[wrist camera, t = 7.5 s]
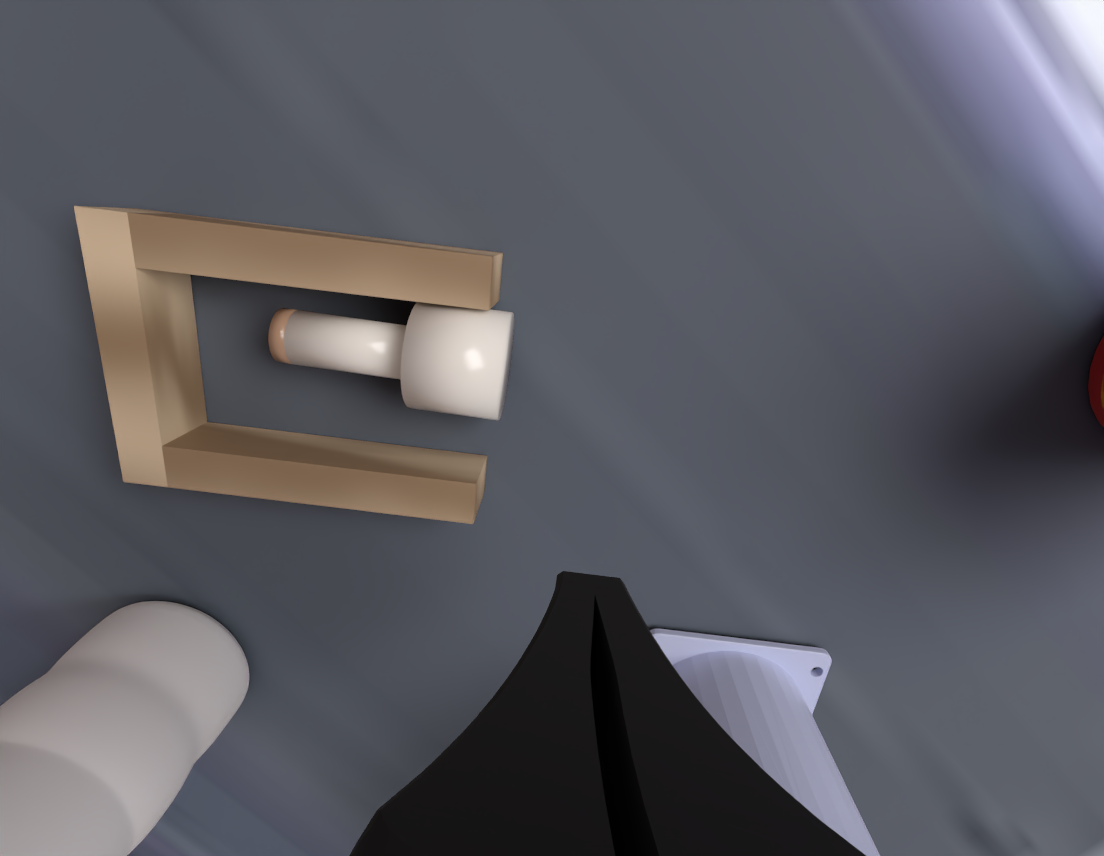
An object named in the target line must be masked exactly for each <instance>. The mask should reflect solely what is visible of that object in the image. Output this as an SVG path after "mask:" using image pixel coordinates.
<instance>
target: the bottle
mask: <svg viewBox="0 0 1104 856" xmlns="http://www.w3.org/2000/svg"><path fill="white" fill-rule="evenodd" d="M513 337H514V314H513V313H512V312H505V311H498V310H491V309H490V310H481V309H472V308H464V307H456V306H448V305H439V304H431V303H423V302H416V304H415V305H414V307H413V309H412V311H411V313H410V316H409V319H408V323H407V325H400V324H393V323H386V322H379V321H372V320H365V319H358V318H351V317H344V316H337V315H330V314H323V313H315V312H308V311H301V310H294V309H287V308H281V309H279V310H278V311H277V312H276V313H275V314H274V316H273V318H272V320H271V323H270V327H269V334H268V342H269V349H270V352H271V355H272V357H273V358H274V359H275V360H276V361H277V362H281V363H288V364H295V365H302V366H309V367H316V368H323V369H330V370H337V371H344V372H352V373H359V374H366V375H373V376H380V377H387V378H394V379H401V391H402V397H403V400H404V403H405V405H406V406H407V407H408V408H414V409H421V410H428V411H435V412H442V413H449V414H456V415H464V416H471V417H478V418H485V419H492V420H499V419H500V417H501V414H502V411H503V407H504V402H505V398H506V392H507V386H508V380H509V373H510V366H511V358H512V349H513Z"/></svg>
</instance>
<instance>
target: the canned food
mask: <svg viewBox="0 0 1104 856" xmlns="http://www.w3.org/2000/svg"><path fill="white" fill-rule="evenodd" d="M1088 391H1089V398H1090V404H1091V407H1092V409H1093V412H1094V414H1095V416H1096V418H1097V420H1098V421H1099V423H1100V424H1101V425H1102V426H1103V427H1104V336H1103V338H1102V339H1101V341H1100V343H1099V345H1098V347H1097V349H1096V351H1095V355H1094V358H1093V361H1092V364H1091V367H1090V373H1089V383H1088Z"/></svg>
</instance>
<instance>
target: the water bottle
mask: <svg viewBox="0 0 1104 856" xmlns="http://www.w3.org/2000/svg"><path fill="white" fill-rule="evenodd" d="M248 685H249V667H248V663H247V659H246V657H245V654H244V652H243V650H242V648H241V646H240V645H239V643H238V642H237V640H236V639H235V637H234V636H233V635H232V634H231V633H230V632H229V631H228V630H227V629H226V628H225V627H224V626H223V625H222V624H221V623H219V622H218V621H217V620H215V619H214V618H212V617H211V616H209V615H207V614H205V613H203V612H201V611H199V610H197V609H195V608H192V607H189V606H186V605H182V604H178V603H173V602H166V601H146V602H139V603H134V604H131V605H128V606H125V607H123V608H120V609H118V610H117V611H115V612H113V613H112V614H110V615H109V616H107V617H106V618H105V619H103V620H102V621H101V622H100V623H98V624H97V625H96V626H95V627H94V628H92V629H91V630H90V631H89V632H88V633H87V634H85V635H84V636H83V637H82V638H81V639H80V640H79V641H78V642H77V643H75V644H74V645H73V646H72V647H71V648H70V649H69V650H68V651H67V652H66V653H65V654H64V655H63V656H62V657H61V658H60V659H59V660H58V661H57V663H56V664H55V665H54V666H53V667H52V668H51V669H50V670H49V671H48V672H47V673H46V674H45V675H43V676H42V677H40V678H38V679H37V680H35V681H34V682H32V683H31V684H29V685H28V686H26V687H25V688H23V689H22V690H20V691H19V692H18V693H16V694H15V695H14V696H12V697H11V698H10V699H9V700H7V701H6V702H5V703H4V704H2V705H1V706H0V856H127V855H128V854H129V853H130V852H131V851H132V850H133V849H134V848H135V847H136V846H137V845H138V844H139V843H140V842H141V841H142V840H143V839H144V838H145V837H146V836H147V834H148V833H149V832H150V831H151V830H152V829H153V827H154V826H155V825H156V823H157V822H158V821H159V820H160V818H161V817H162V816H163V814H164V813H165V811H166V810H167V809H168V807H169V806H170V804H171V803H172V801H173V800H174V798H175V797H176V795H177V794H178V792H179V790H180V789H181V787H182V785H183V784H184V782H185V780H186V778H187V776H188V774H189V772H190V770H191V768H192V767H193V765H194V763H195V762H196V761H197V760H198V759H199V758H200V757H201V756H202V754H203V753H204V752H205V751H206V750H207V749H208V748H209V747H210V746H211V744H212V743H213V742H214V741H215V739H216V738H217V737H218V736H219V734H220V733H221V732H222V730H223V729H224V728H225V726H226V725H227V724H228V722H229V721H230V720H231V718H232V717H233V715H234V714H235V713H236V711H237V710H238V708H239V707H240V705H241V703H242V702H243V700H244V698H245V695H246V693H247V690H248Z"/></svg>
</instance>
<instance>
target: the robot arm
mask: <svg viewBox="0 0 1104 856" xmlns="http://www.w3.org/2000/svg"><path fill="white" fill-rule="evenodd" d="M831 661H832V660H831V657H830V655H829V654H828V652H827V651H826V650H825V649H822V648H817V647H809V646H801V645H792V644H784V643H776V642H767V641H759V640H751V639H742V638H734V637H726V636H717V635H709V634H701V633H692V632H684V631H676V630H667V629H659V628H658V629H652V630H649V628H648V627H647V625H646V623H645V622H644V620H643V618H642V616H641V615H640V613H639V611H638V609H637V608H636V606H635V604H634V602H633V600H632V598H631V597H630V595H629V593H628V591H627V589H626V587H625V585H624V583H623V582H622V580H621V579H620V578H615V577H606V576H598V575H590V574H582V573H574V572H566V571H563V572H561V573H560V574H558V575H557V580H556V587H555V591H554V594H553V597H552V599H551V602H550V604H549V607H548V609H547V611H546V613H545V615H544V617H543V620H542V622H541V624H540V626H539V628H538V630H537V632H536V633H535V635H534V637H533V639H532V640H531V642H530V644H529V645H528V647H527V649H526V650H525V652H524V654H523V655H522V657H521V659H520V660H519V662H518V663H517V665H516V666H515V668H514V669H513V671H512V672H511V674H510V675H509V677H508V678H507V679H506V681H505V682H504V683H503V685H502V686H501V687H500V689H499V690H498V691H497V693H496V694H495V695H494V697H493V698H492V699H491V700H490V701H489V703H488V704H487V705H486V706H485V707H484V709H483V710H482V711H481V712H480V713H479V715H478V716H477V717H476V718H475V719H474V720H473V722H472V723H471V724H470V725H469V726H468V727H467V728H466V729H465V730H464V732H463V733H462V734H461V735H460V736H459V737H458V738H457V739H456V740H455V741H454V742H453V743H452V744H451V745H450V746H449V747H448V748H447V749H446V750H445V751H444V752H443V753H442V754H441V755H440V756H439V757H438V758H437V759H436V760H435V761H434V762H433V763H432V764H431V765H429V766H428V767H427V768H426V769H425V770H424V771H423V772H422V773H421V774H420V775H418V776H417V777H416V778H415V779H414V780H412V781H411V782H410V783H409V784H408V785H406V786H405V787H404V788H403V789H402V790H401V791H399V792H398V793H397V794H396V795H395V796H393V797H392V798H391V799H390V800H389V801H387V802H386V803H385V804H384V805H383V806H381V807H380V808H379V809H378V810H377V811H376V813H375V814H374V816H373V818H372V819H371V821H370V822H369V824H368V825H367V827H366V829H365V830H364V832H363V833H362V835H361V837H360V838H359V840H358V842H357V843H356V845H355V847H354V849H353V850H352V852H351V854H350V856H880V855H879V853H878V851H877V849H876V847H875V845H874V843H873V840H872V838H871V836H870V834H869V832H868V830H867V828H866V826H865V824H864V822H863V820H862V818H861V816H860V814H859V811H858V809H857V807H856V805H855V803H854V801H853V799H852V797H851V795H850V793H849V791H848V789H847V787H846V785H845V783H844V780H843V778H842V776H841V774H840V772H839V770H838V768H837V766H836V764H835V762H834V760H833V758H832V756H831V754H830V752H829V749H828V747H827V745H826V743H825V741H824V739H823V737H822V735H821V733H820V731H819V729H818V727H817V725H816V723H815V721H814V718H813V716H812V714H813V711H814V708H815V706H816V703H817V700H818V698H819V695H820V692H821V689H822V687H823V684H824V681H825V679H826V676H827V673H828V671H829V668H830V665H831ZM815 667H818V668H817V669H815V670H812V669H813V668H815Z"/></svg>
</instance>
